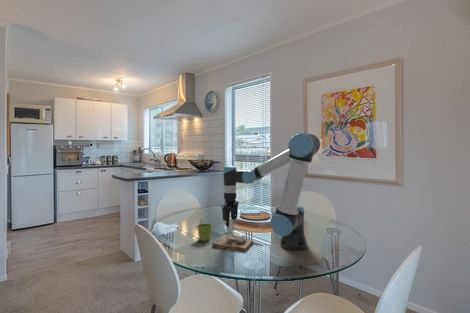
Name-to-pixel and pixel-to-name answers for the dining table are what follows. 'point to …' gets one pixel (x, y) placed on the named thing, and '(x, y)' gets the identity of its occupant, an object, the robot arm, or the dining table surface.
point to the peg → (239, 237)
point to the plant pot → (204, 231)
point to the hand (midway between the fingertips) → (230, 230)
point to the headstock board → (232, 244)
